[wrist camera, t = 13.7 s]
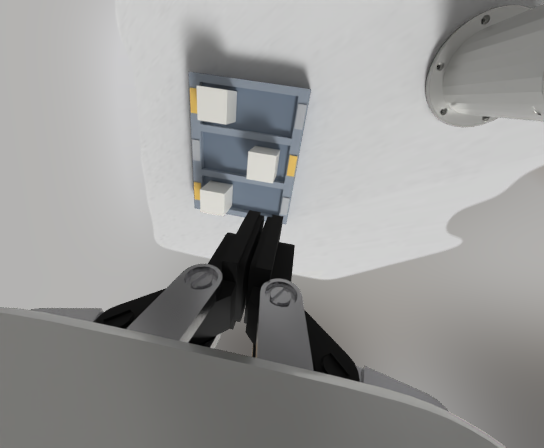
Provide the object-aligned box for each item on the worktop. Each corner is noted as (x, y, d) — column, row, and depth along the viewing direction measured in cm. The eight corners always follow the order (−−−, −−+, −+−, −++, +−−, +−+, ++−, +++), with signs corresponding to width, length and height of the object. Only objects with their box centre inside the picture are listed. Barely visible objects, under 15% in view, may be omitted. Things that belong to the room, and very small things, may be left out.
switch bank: (310, 90, 33) (311, 89, 30) (287, 217, 43) (285, 225, 40) (197, 73, 34) (187, 71, 31) (201, 201, 44) (194, 208, 41)
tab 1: (237, 91, 32) (227, 90, 28) (235, 121, 34) (226, 124, 30) (210, 87, 32) (196, 85, 28) (210, 117, 34) (197, 120, 30)
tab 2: (233, 184, 39) (224, 193, 35) (232, 205, 41) (223, 216, 37) (210, 180, 39) (199, 189, 35) (210, 201, 41) (200, 212, 37)
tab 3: (280, 149, 35) (276, 156, 31) (276, 174, 37) (272, 183, 33) (255, 145, 35) (248, 151, 31) (252, 170, 37) (246, 178, 33)
